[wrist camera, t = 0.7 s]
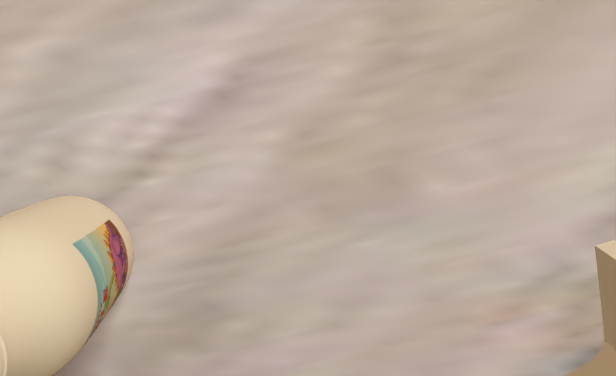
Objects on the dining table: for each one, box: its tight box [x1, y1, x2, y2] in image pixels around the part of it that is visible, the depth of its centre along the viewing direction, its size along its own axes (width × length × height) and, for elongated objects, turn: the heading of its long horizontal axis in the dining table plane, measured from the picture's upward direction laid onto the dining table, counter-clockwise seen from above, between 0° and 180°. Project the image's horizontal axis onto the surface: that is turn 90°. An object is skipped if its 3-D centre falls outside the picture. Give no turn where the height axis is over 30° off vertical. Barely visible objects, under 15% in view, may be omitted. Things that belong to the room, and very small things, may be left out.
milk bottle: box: [0, 196, 134, 376], centre depth 28 cm, size 8×8×20 cm
